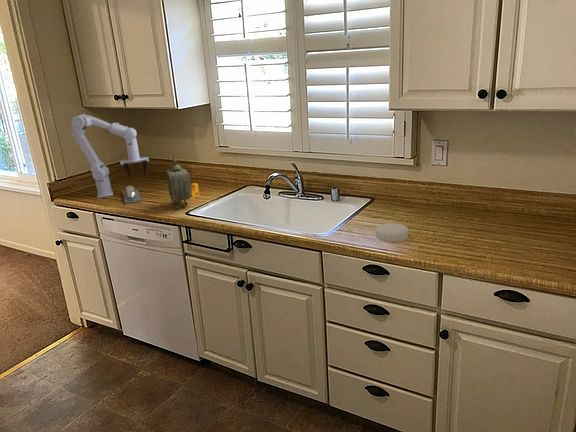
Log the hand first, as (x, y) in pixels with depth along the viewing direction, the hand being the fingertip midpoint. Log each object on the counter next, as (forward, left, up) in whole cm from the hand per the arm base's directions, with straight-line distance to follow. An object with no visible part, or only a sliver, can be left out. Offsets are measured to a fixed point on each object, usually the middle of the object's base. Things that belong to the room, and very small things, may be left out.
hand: (137, 176), depth 255 cm
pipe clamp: (+27, +21, -10) cm, 35 cm away
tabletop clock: (+37, +17, -10) cm, 42 cm away
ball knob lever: (+7, -5, -8) cm, 12 cm away
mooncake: (+121, +82, -10) cm, 147 cm away
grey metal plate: (+7, -5, -9) cm, 13 cm away
